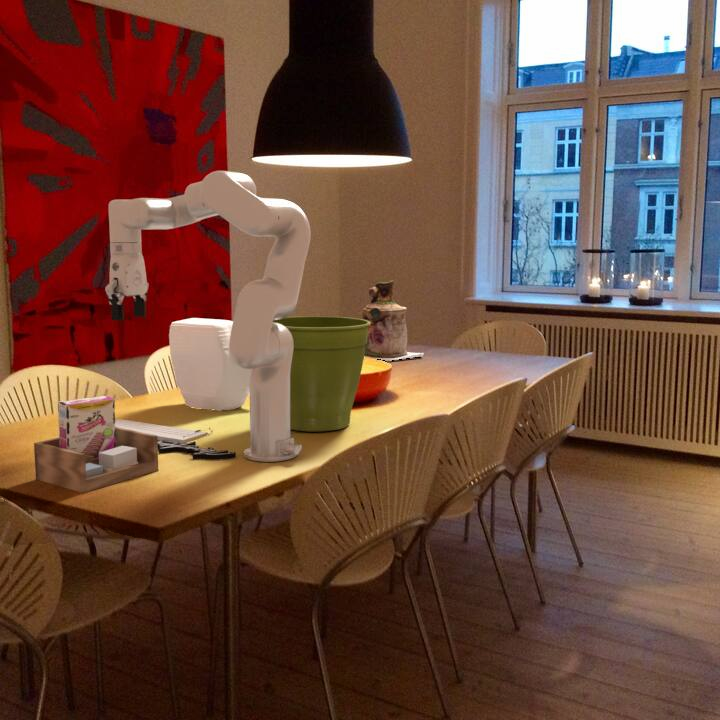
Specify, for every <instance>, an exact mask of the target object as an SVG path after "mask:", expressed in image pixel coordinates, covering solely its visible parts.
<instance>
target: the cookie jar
mask: <svg viewBox="0 0 720 720" xmlns="http://www.w3.org/2000/svg"><path fill="white" fill-rule="evenodd" d="M394 282H395V281H394V280H390V281H389V282H378V283H376V284H375V286H372V287H370V288H368V294H369V297H371V298H372V299H371V300H370V301H371V302H370V303H369V304H367V305H366V306H365V308H363V309H362V311H361V319H363V320H367V321H370V326H369V327H368V336H367V344H366V346H365V353H364V356H369V357H372V358H376V359H381V360H380V361H383V360H385V362H393V361H392V360H394V361H400V360H399V359H402V360H407V359H406V358H410V359H414V358H413V357H420V356H422V357H423V356H424V354H425V353H424V352H410V351H407V344H408V328H407V325H406V324H407V323H406V313H407V311H408V310H407V307H405V306H401V305H399V304H397V303H396V302H395V301H394V300H393V299H392V297H393V296H394V293H395V291H394V285H395V283H394Z"/></svg>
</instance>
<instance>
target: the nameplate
mask: <svg viewBox="0 0 720 720" xmlns="http://www.w3.org/2000/svg"><path fill="white" fill-rule="evenodd" d="M157 442H158V454H160V453H161V454H168V453H184V454H186V455H189V453H190V454H191V455H192V460H206V461H207V460H209V461H215V460H217V461H219V460H220V459H222V460H230V459H236V458H237V452H236V451H232V450H231V451H230V452H229V449H226V450H225V449H223V450H216V449H214V448H213V447H209V446H208V447H207V448H202V447H200V446H199V445H196V443H197V442H196V440H193V441H190V442H187V443H183V442H176V441H169V440H162V439H157ZM235 457H236V458H235Z"/></svg>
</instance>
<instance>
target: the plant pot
mask: <svg viewBox="0 0 720 720" xmlns="http://www.w3.org/2000/svg"><path fill="white" fill-rule="evenodd" d="M273 323H279V324H281V325H283V326H285V327H286V328H287V329H288V330H289V331H290V333H291V335H292V337H293V342H294V350H293V357H292V363H291V375H290V427H291V430H293V431H297V432H298V431H299V432H312V433H314V432H315V433H316V432H331V431H336V430H341V429H344V428H346V427H348V426H349V425H350V423H351V415H352V414H351V412H352V409H353V405H354V403H355V402H354V401H355V398H356V395H357V391H358V388H359V383H360V379H361V374H362V369H363V364H364V360H365V359H364V353H365V346H366V344H367V336H368V327H369V326H370V321H367V320H363V319H362V318H355V317H344V316H343V317H342V316H330V315H329V316H327V315H326V316H323V315H322V316H319V315H317V316H316V315H315V316H313V315H311V316H307V315H306V316H302V315H301V316H288V317H286V318H283V319H278V320H273Z"/></svg>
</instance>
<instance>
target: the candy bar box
mask: <svg viewBox="0 0 720 720" xmlns="http://www.w3.org/2000/svg"><path fill="white" fill-rule="evenodd" d="M115 405H116V403H115V398H112V397H109V396H106V395H102V396H94V397H86V398H85V397H84V398H76V399H68V400H60V401H57V409H58V410H57V411H58V434H59V435H58V436H59V437H58V438H59V445H60V448H64V449H68V450H72V451H76V452H80V453H84V454H85V461H86V460H90V459H94V458H98V457H99V453H100V452H103V451H106V450H110V449H113V448H116V446H115V420H116V419H115V418H116V413H115V412H116V411H115V409H116V406H115Z"/></svg>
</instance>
